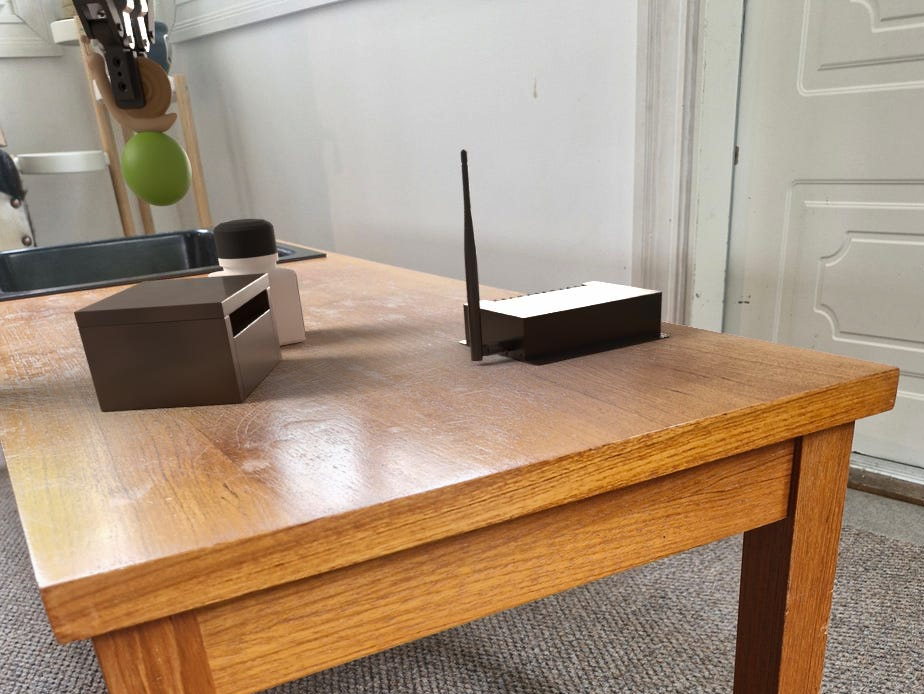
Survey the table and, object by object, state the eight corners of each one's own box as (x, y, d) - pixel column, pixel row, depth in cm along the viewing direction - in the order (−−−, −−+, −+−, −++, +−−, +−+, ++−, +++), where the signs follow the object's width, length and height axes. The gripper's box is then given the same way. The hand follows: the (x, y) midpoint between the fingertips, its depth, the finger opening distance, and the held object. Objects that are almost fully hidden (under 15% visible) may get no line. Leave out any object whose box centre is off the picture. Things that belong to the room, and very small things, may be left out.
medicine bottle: (307, 341, 95) (288, 217, 89) (244, 353, 92) (220, 225, 86) (281, 332, 101) (261, 215, 95) (220, 343, 97) (195, 222, 91)
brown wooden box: (101, 411, 75) (73, 311, 71) (163, 366, 89) (143, 281, 85) (241, 403, 75) (221, 302, 71) (282, 359, 88) (267, 272, 84)
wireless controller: (584, 318, 97) (583, 136, 88) (673, 336, 86) (681, 131, 78) (421, 349, 88) (403, 151, 80) (498, 373, 78) (486, 148, 69)
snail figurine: (132, 207, 77) (95, 39, 71) (206, 202, 76) (174, 33, 71) (107, 211, 72) (66, 31, 66) (186, 205, 72) (151, 24, 66)
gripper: (64, -151, 68) (123, 113, 77) (-29, -208, 56) (53, 111, 65) (161, -159, 68) (209, 107, 76) (87, -219, 56) (154, 104, 65)
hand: (137, 108), depth 71 cm, fingers closed on snail figurine
